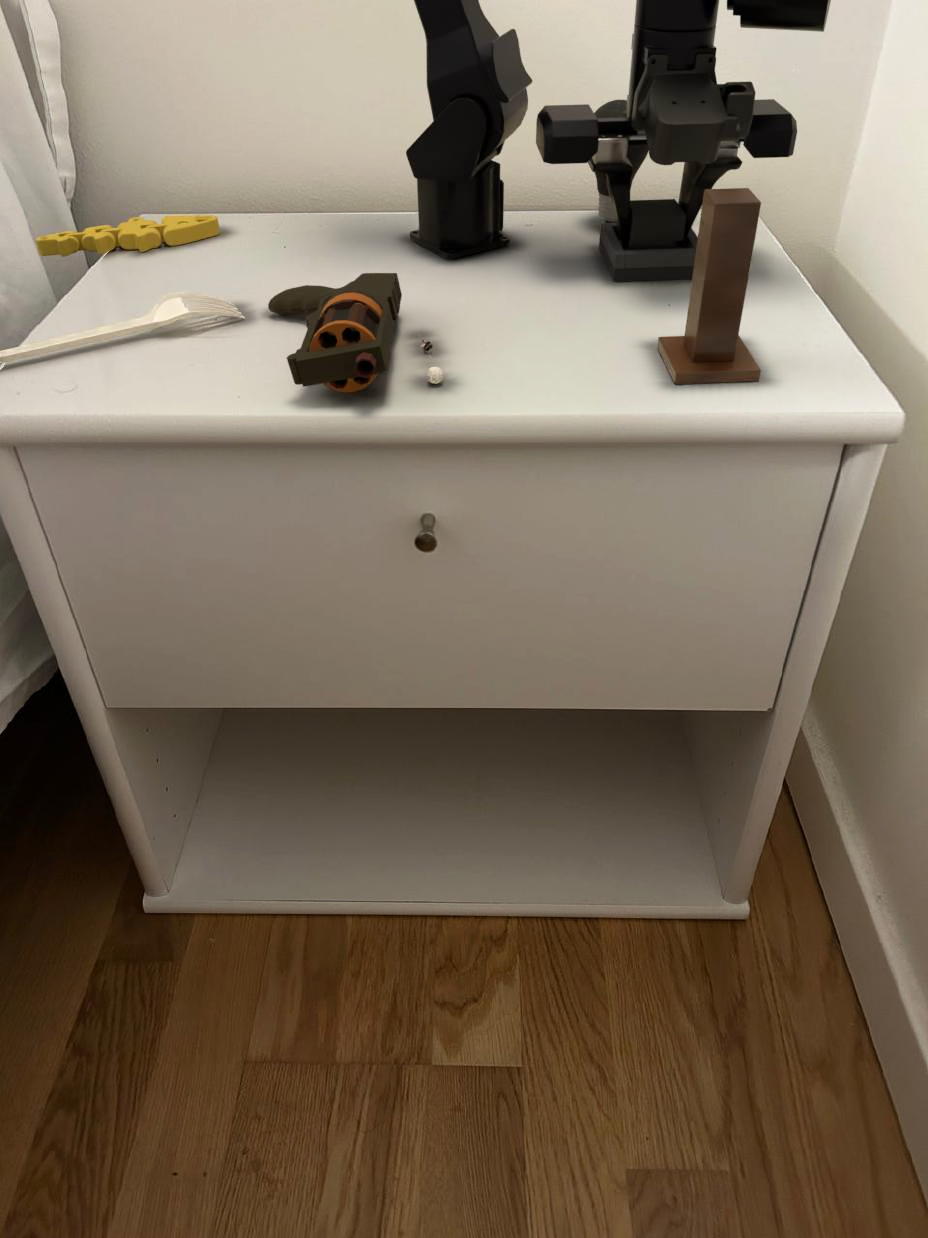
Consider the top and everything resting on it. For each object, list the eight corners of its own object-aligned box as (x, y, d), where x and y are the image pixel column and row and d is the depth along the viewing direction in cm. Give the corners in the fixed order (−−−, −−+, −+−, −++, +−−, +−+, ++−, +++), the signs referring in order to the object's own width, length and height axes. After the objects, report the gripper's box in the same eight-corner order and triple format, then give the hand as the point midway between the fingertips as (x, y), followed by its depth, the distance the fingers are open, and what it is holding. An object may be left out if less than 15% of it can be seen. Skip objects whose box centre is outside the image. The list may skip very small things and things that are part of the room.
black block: (623, 225, 82) (625, 200, 81) (672, 223, 82) (675, 198, 81) (632, 242, 79) (635, 216, 78) (683, 241, 79) (686, 215, 78)
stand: (674, 384, 66) (697, 211, 59) (657, 347, 70) (676, 182, 63) (759, 381, 66) (792, 208, 59) (736, 344, 71) (764, 179, 64)
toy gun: (215, 357, 61) (375, 327, 60) (263, 267, 75) (394, 241, 74) (239, 426, 64) (393, 399, 63) (282, 327, 78) (408, 303, 77)
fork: (-44, 371, 66) (-34, 395, 68) (244, 297, 73) (247, 321, 75) (-54, 348, 68) (-44, 372, 70) (228, 278, 75) (232, 302, 77)
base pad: (613, 281, 80) (615, 253, 78) (598, 249, 85) (600, 222, 84) (703, 278, 80) (707, 250, 78) (683, 246, 85) (686, 219, 84)
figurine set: (447, 379, 66) (433, 389, 66) (432, 333, 72) (419, 342, 73) (436, 364, 65) (422, 374, 66) (421, 319, 72) (409, 328, 72)
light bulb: (653, 229, 88) (667, 104, 82) (594, 237, 87) (603, 111, 81) (626, 209, 93) (637, 89, 86) (569, 216, 91) (576, 95, 85)
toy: (41, 242, 88) (39, 262, 84) (36, 226, 87) (34, 246, 83) (217, 224, 91) (223, 243, 87) (215, 208, 90) (220, 227, 86)
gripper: (558, 51, 65) (548, 288, 75) (844, 44, 66) (796, 280, 76) (538, 19, 73) (531, 236, 83) (791, 13, 74) (754, 228, 84)
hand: (651, 245), depth 81 cm, fingers closed on black block, 4 cm apart
